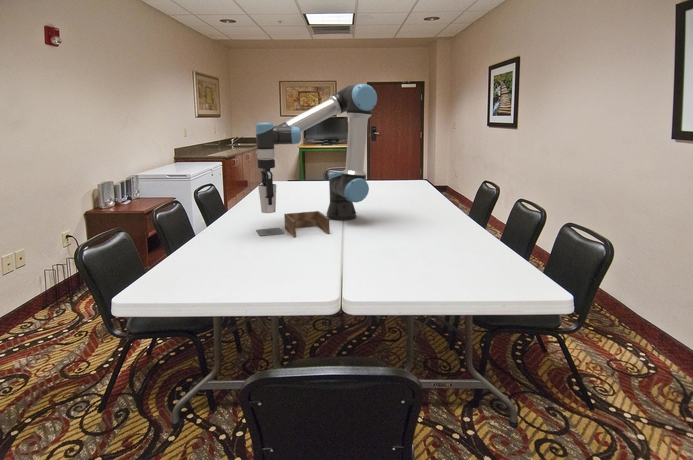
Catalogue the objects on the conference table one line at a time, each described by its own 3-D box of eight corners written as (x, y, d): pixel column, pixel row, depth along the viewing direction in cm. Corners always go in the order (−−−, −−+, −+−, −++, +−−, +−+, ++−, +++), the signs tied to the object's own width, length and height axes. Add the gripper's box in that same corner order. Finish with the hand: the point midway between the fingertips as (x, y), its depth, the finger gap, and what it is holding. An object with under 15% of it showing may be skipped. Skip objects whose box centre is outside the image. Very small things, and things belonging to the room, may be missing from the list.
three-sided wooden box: (318, 225, 226) (318, 211, 224) (329, 233, 210) (329, 218, 209) (284, 228, 221) (284, 213, 219) (293, 237, 205) (292, 221, 203)
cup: (273, 213, 208) (272, 186, 205) (256, 213, 209) (255, 186, 206) (280, 210, 215) (278, 183, 212) (263, 209, 217) (262, 183, 214)
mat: (279, 228, 221) (279, 227, 221) (284, 233, 211) (284, 233, 211) (255, 230, 218) (255, 229, 218) (259, 236, 208) (259, 235, 208)
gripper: (253, 157, 215) (256, 206, 220) (261, 161, 196) (264, 215, 202) (270, 156, 217) (272, 205, 223) (279, 160, 199) (281, 214, 204)
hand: (268, 210), depth 212 cm, fingers closed on cup, 7 cm apart
